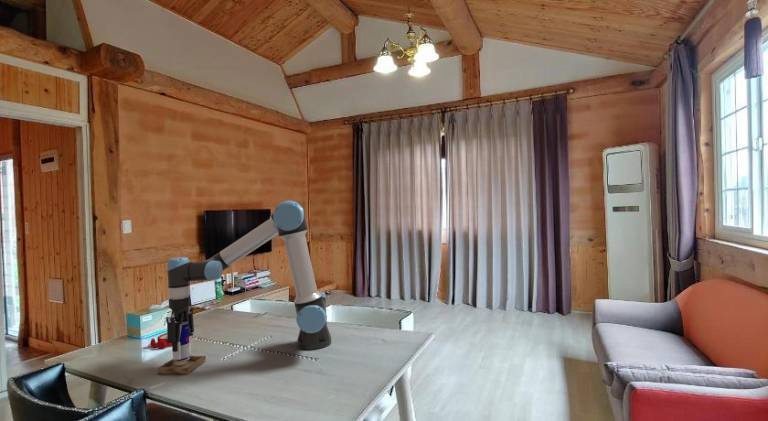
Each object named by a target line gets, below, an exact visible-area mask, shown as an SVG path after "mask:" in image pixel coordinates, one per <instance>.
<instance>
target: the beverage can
mask: <svg viewBox="0 0 768 421" xmlns="http://www.w3.org/2000/svg"><path fill="white" fill-rule="evenodd" d="M175 340H176V339H175ZM179 342H180V349H181V359H180V360H174V361H175V362H178V363H180V362H185V361H187V360H189V359H190V356H191V353H190V345H191V342H190V343H189V323H188V321H187V322H182V324H180V334H179Z"/></svg>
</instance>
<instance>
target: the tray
mask: <svg viewBox="0 0 768 421" xmlns="http://www.w3.org/2000/svg"><path fill="white" fill-rule="evenodd" d="M206 356H207V355H190V359H189V360H187V361H185V362H180V363H178V362H175V361H174V360H173V358H171V359H170V360H169V361H167V362H166V363H164V364H162V365H161V366H159V367H158V368H157V375H162V376H163V375H164V376H165V375H169V376H170V375H171V376H172V375H173V376H174V375H177V376H178V375H182V376H184V375H185V376H188V375H190V374H191V373H192V372H194V371H195V370H197V368H199V367H201V366H202V365H203V364H204V363H206V362H207V361H206V360H207V358H206Z"/></svg>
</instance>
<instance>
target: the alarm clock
mask: <svg viewBox="0 0 768 421" xmlns="http://www.w3.org/2000/svg"><path fill="white" fill-rule="evenodd" d="M156 340H157V342H156ZM147 347H149V348H153V349H154V348H155V349H156V347H157V348H158V350H165V349H166V348H170V347H171V348H172V343H168V342H167V332H165V333H163V334H159V336H157V338H151V340H150V343H149V344H148V345H147Z"/></svg>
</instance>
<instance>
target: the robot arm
mask: <svg viewBox="0 0 768 421" xmlns="http://www.w3.org/2000/svg"><path fill="white" fill-rule="evenodd" d="M307 232H308V226H307V221H306V211H305V208H304V207H303V205H302V204H301V203H299V202H297V201H294V200H290V199H289V200H285V201H284V200H283V201H281V202H280V203H278V204H277V205H276V207H274V210H273V213H272V214H271V215H270V216H269V218H268V219H267V220H265V221H264V222H263V223H261V224H259V225H258V226H257V227H256V228H254V229H252V230H251V231H249V232H248V233H246V234H245V235H243V236H242V237H240V238H238V239H237V240H236V241H235V242H233V243H231V244H230V245H228V246H227V247H225V248H224V249H222V250H221V251H219V252H218V253H216V254H214V255H213V256H211V257H210V258H208V259H206V260H202V261H190V259H189V257H187V256H181V257H180V256H179V257H171V258H169V259H168V260H167V264H166V266H167V267H166V273H167V286H168V298H169V299H168V308H169V309H170V310H171V313H170V316H169V317H168V316H167V317H166V318H165V322H166V324H167V325H166V330H167V332H166V333H167V342H168V343H172V346H171V350H172V359H173V360H180V359H181V349H180V342H179V334H180V324H182V322H187V321H188V323H189V343H190V354H191V353H192V349H191V337H192V336H193V335H194V332H195V325H194V308H189V307H190V306H191V303H192V302H191V285H190V284H191V283H190V282H199V281H200V282H201V281H204V282H205V281H210V282H211V281H215V280H216V281H217V280H219V279H221V278H222V275H223V272H224V271H225V270H227V269H228V268H230V267H231V266H232V265H234V264H235V263H237V262H238V261H240V260H241V259H243V258H244V257H246V256H248V255H249V254H250V253H252V252H254V251H255V250H256V249H258V248H259V247H261V246H262V245H264V244H266V243H267V242H269V241H270V240H271V239H273V238H275V237H276V236H277V235H278V237H279V238H280V239H282V240H283V241H284V246H285V250H286V255H287V256H286V257H287V260H288V264H289V270H290V272H291V273H290V274H291V277H292V282H293V286H294V291H295V295H296V297H295V299H294V301H293V304H294V307H295V308H294V309H295V314H296V318H295V319H296V320H295V321H296V324H297V326H298V328H299V332H298V335H297V339H296V344H297V345H296V346H297V348H299V349H302V350H307V351H309V350H310V351H311V350H318V349H319V350H320V349H323V348H326V347H329V346H330V345H331V344H332V336H331V333H330V331H329V330H330V329H329V326H328V322H327V321H328V319H327V318H328V315H327V296H326V293H325V291H318V287H317V283H316V278H315V274H314V270H313V266H312V265H313V264H312V261H311V258H310V252H309V248H308V242H307V240H306V234H307ZM175 339H176V340H175Z"/></svg>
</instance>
